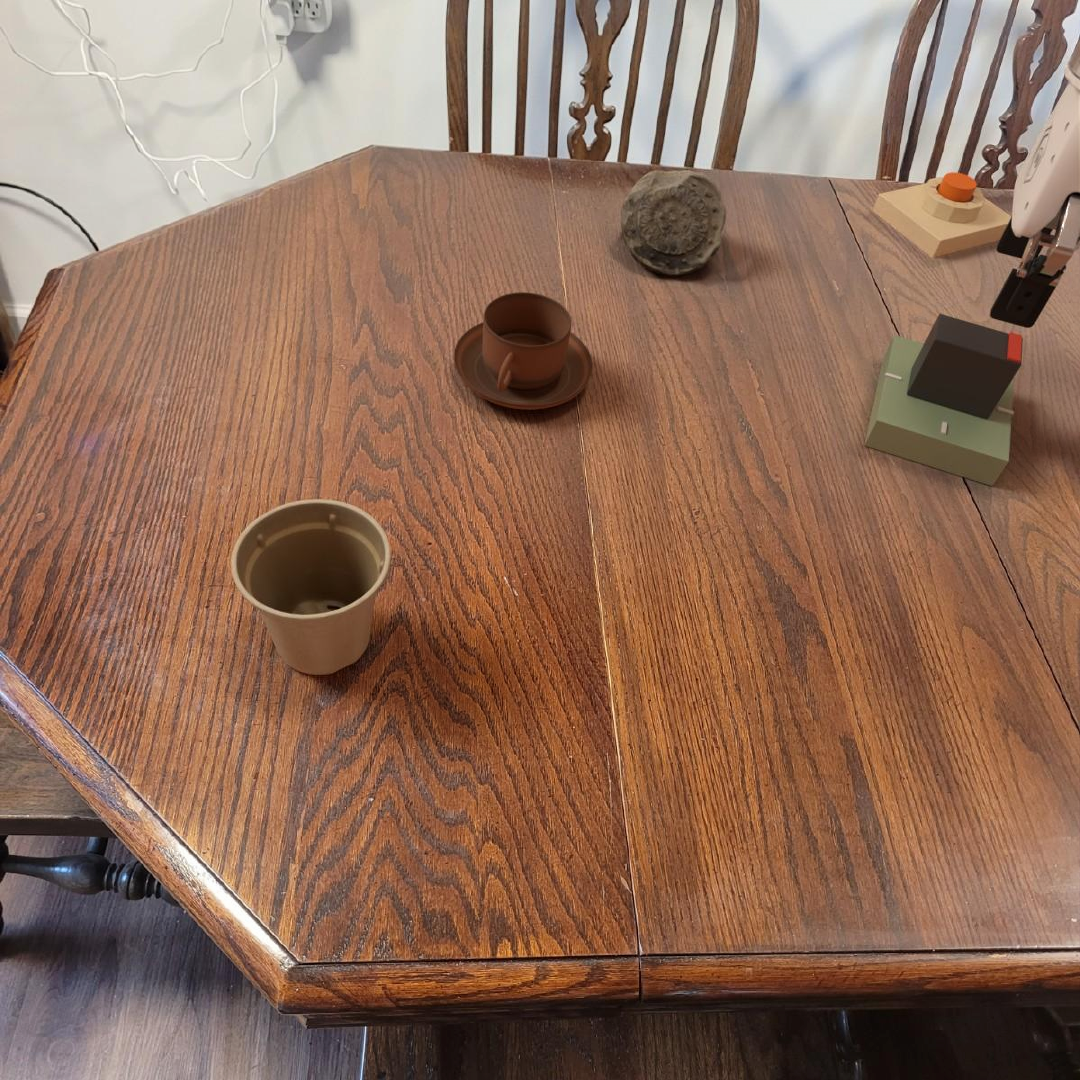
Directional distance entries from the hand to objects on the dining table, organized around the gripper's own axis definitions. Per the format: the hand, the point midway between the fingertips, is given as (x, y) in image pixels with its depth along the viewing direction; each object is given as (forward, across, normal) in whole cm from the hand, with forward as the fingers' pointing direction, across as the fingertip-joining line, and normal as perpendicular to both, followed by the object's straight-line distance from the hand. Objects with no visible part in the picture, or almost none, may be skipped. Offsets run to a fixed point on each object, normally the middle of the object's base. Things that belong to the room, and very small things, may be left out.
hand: (1012, 286), depth 74 cm
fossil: (+14, -13, -30) cm, 35 cm away
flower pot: (+13, +44, -38) cm, 59 cm away
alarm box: (+14, -35, -3) cm, 38 cm away
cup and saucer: (+13, +12, -36) cm, 40 cm away
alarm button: (+11, -35, -3) cm, 37 cm away
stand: (+14, 0, -1) cm, 14 cm away
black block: (+11, 0, -1) cm, 11 cm away
